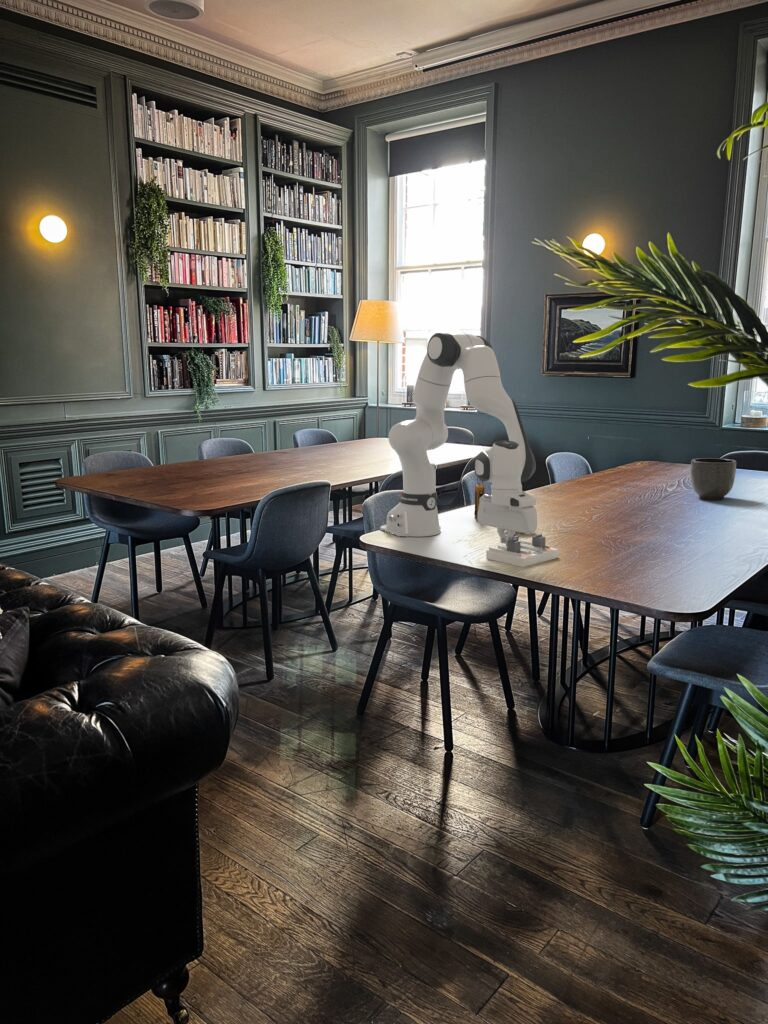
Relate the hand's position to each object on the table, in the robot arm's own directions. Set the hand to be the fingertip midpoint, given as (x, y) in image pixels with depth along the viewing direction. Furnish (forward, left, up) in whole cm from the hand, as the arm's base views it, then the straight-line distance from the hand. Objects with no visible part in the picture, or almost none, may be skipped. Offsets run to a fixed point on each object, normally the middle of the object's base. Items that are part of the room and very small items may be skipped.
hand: (505, 543), depth 225 cm
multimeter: (-43, +40, -5) cm, 59 cm away
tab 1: (+3, 0, -2) cm, 4 cm away
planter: (-9, +139, -5) cm, 139 cm away
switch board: (+2, +5, -5) cm, 7 cm away
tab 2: (+4, +10, -2) cm, 11 cm away
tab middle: (-2, +5, -2) cm, 6 cm away
